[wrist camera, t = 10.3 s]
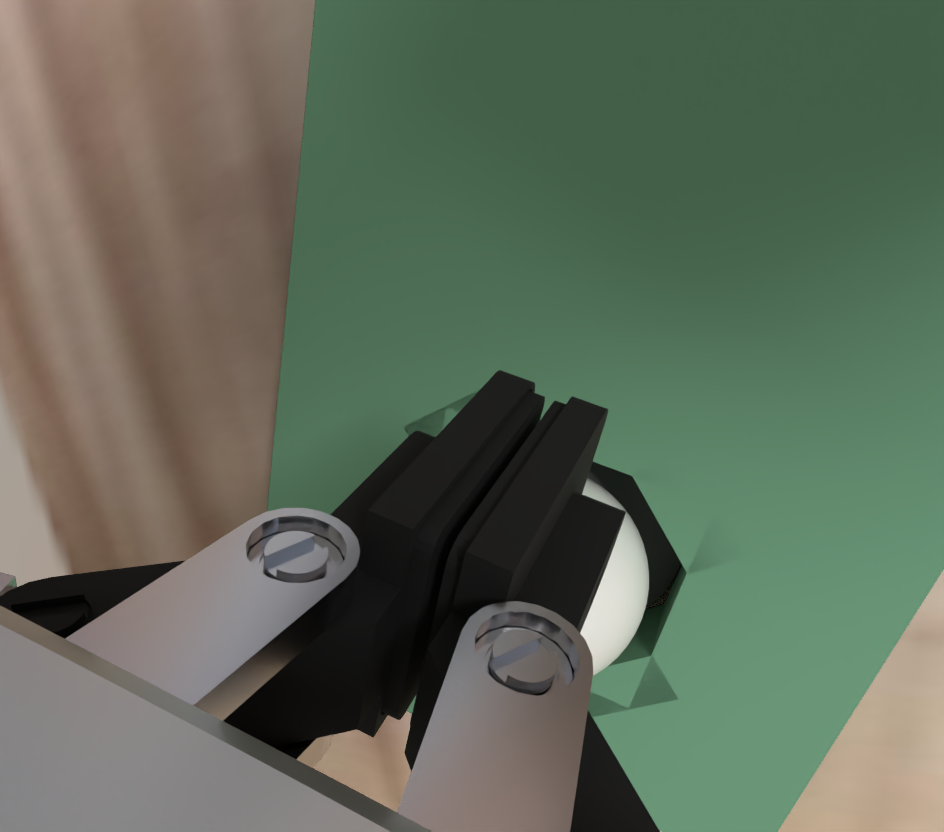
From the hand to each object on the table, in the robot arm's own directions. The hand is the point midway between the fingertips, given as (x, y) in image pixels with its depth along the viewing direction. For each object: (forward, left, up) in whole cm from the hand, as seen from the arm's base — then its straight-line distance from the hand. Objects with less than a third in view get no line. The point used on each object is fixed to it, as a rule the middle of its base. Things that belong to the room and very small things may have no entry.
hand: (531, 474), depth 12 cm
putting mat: (+3, 0, -11) cm, 11 cm away
